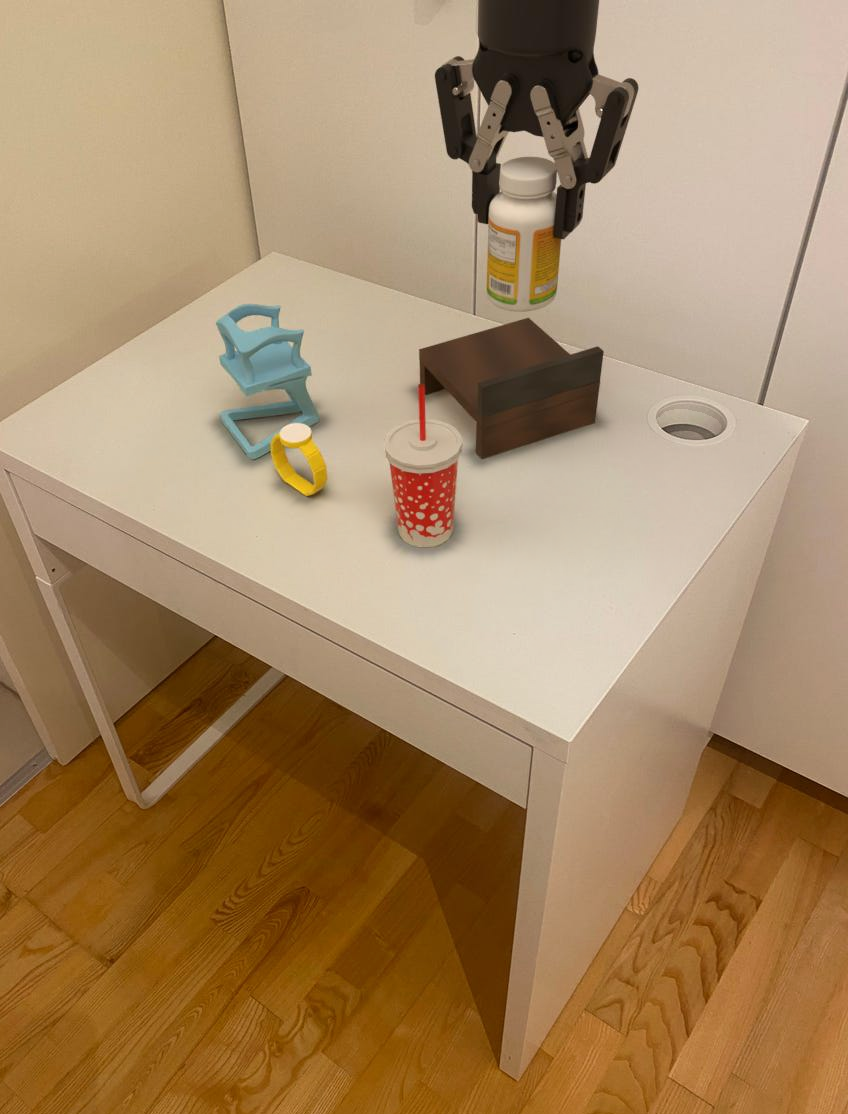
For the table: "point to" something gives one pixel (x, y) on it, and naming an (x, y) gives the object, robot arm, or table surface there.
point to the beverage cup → (424, 477)
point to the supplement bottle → (523, 236)
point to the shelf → (515, 384)
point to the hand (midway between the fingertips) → (524, 225)
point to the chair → (264, 371)
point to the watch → (302, 439)
